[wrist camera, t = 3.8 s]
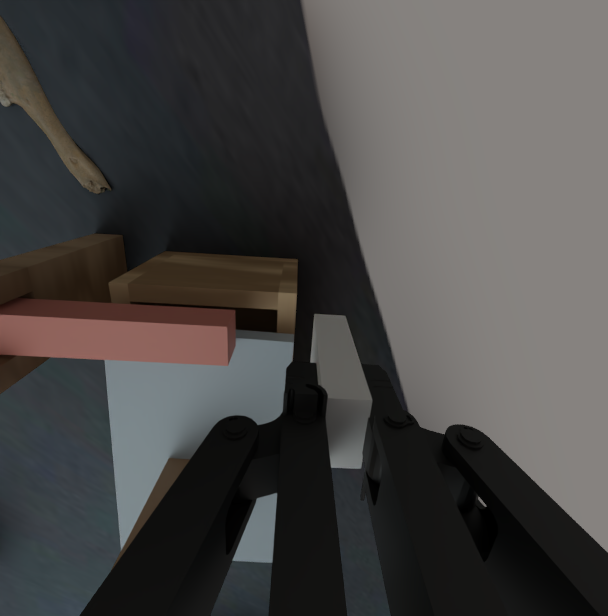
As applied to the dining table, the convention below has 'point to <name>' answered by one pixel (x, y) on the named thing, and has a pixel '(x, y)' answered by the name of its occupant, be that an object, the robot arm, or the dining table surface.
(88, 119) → the dining table surface
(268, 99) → the dining table surface
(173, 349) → the bar
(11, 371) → the post
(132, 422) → the lid
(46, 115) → the jawbone
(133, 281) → the open wooden box
